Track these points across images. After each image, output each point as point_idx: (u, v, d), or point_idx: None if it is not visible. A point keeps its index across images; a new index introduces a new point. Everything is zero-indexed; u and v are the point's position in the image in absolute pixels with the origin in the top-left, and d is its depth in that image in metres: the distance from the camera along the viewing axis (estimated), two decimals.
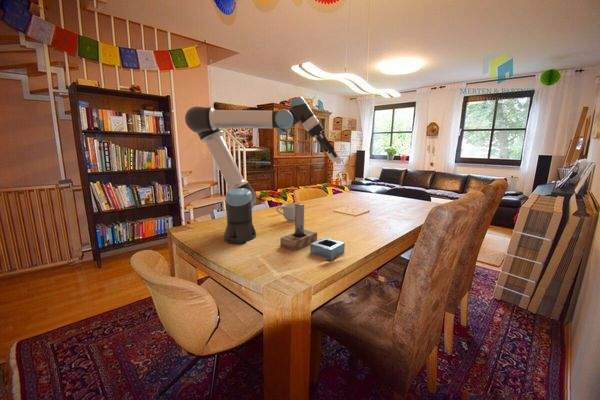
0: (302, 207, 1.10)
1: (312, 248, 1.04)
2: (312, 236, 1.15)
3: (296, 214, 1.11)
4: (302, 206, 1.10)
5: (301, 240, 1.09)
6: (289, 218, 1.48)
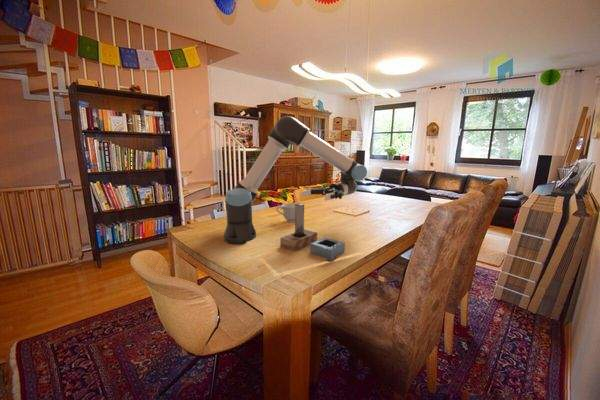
0: (302, 207, 1.10)
1: (312, 248, 1.04)
2: (312, 236, 1.15)
3: (296, 214, 1.11)
4: (302, 206, 1.10)
5: (301, 240, 1.09)
6: (289, 218, 1.48)
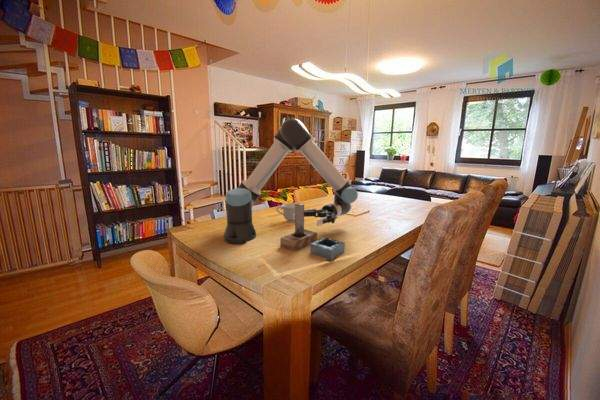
0: (302, 207, 1.10)
1: (312, 248, 1.04)
2: (312, 236, 1.15)
3: (296, 214, 1.11)
4: (302, 206, 1.10)
5: (301, 240, 1.09)
6: (289, 218, 1.48)
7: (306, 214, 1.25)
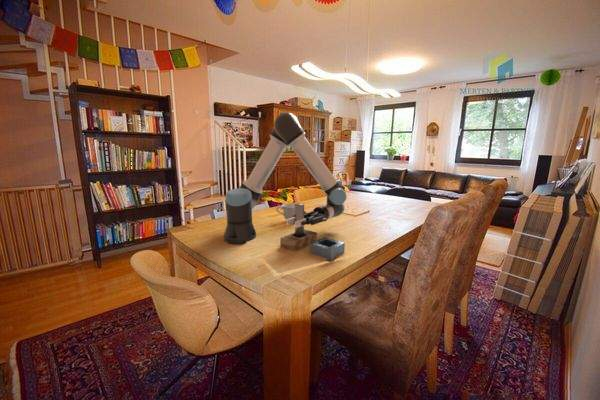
0: (302, 207, 1.10)
1: (312, 248, 1.04)
2: (312, 236, 1.15)
3: (296, 214, 1.11)
4: (302, 206, 1.10)
5: (301, 240, 1.09)
6: (289, 218, 1.48)
7: None
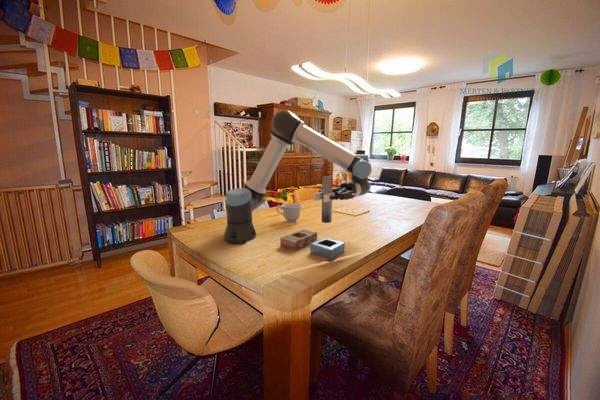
0: (331, 180, 0.99)
1: (312, 248, 1.04)
2: (312, 236, 1.15)
3: (324, 188, 1.00)
4: (331, 179, 0.99)
5: (301, 240, 1.09)
6: (289, 218, 1.48)
7: None
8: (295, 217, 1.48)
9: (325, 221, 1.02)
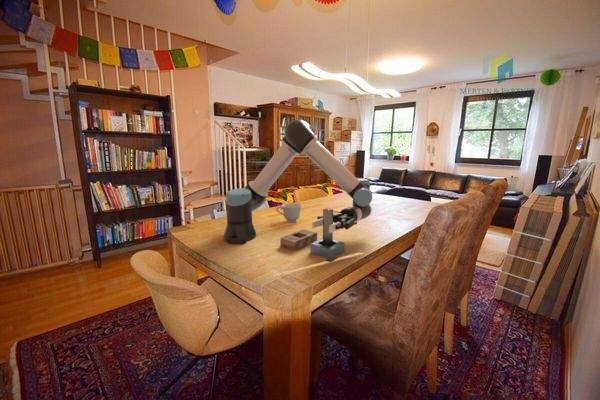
0: (331, 213, 1.01)
1: (312, 248, 1.04)
2: (312, 236, 1.15)
3: (325, 220, 1.01)
4: (331, 211, 1.01)
5: (301, 240, 1.09)
6: (289, 218, 1.48)
7: None
8: (295, 217, 1.48)
9: None
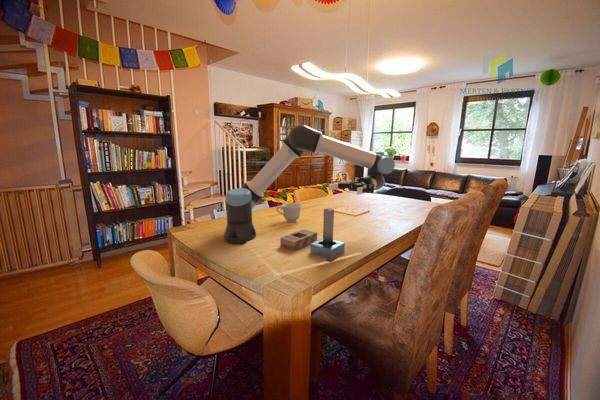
0: (332, 213, 1.00)
1: (312, 248, 1.04)
2: (312, 236, 1.15)
3: (325, 220, 1.01)
4: (332, 212, 1.00)
5: (301, 240, 1.09)
6: (289, 218, 1.48)
7: (341, 186, 1.18)
8: (295, 217, 1.48)
9: None
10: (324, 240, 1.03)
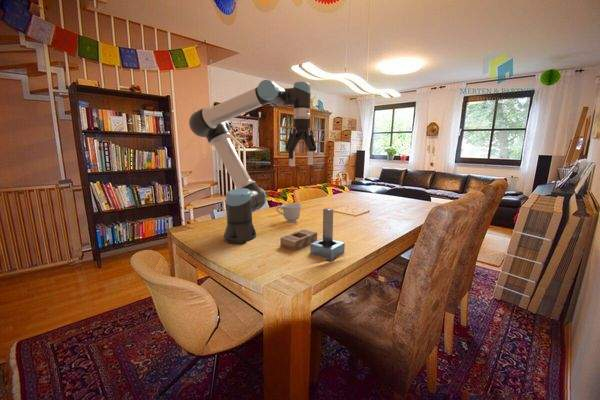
0: (331, 213, 1.01)
1: (312, 248, 1.04)
2: (312, 236, 1.15)
3: (325, 220, 1.01)
4: (331, 211, 1.01)
5: (301, 240, 1.09)
6: (289, 218, 1.48)
7: (309, 147, 1.25)
8: (295, 217, 1.48)
9: None
10: (324, 240, 1.03)
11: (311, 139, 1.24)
